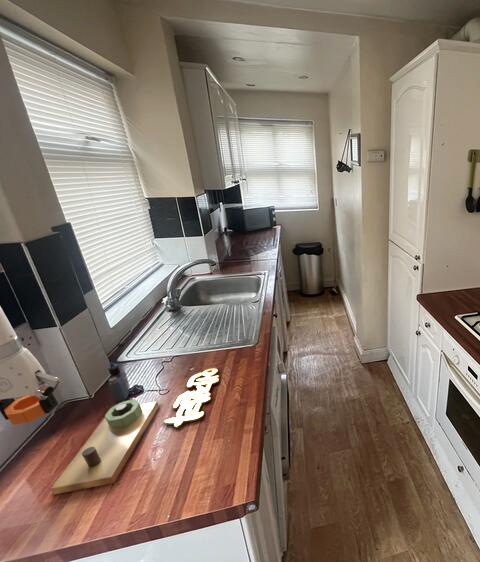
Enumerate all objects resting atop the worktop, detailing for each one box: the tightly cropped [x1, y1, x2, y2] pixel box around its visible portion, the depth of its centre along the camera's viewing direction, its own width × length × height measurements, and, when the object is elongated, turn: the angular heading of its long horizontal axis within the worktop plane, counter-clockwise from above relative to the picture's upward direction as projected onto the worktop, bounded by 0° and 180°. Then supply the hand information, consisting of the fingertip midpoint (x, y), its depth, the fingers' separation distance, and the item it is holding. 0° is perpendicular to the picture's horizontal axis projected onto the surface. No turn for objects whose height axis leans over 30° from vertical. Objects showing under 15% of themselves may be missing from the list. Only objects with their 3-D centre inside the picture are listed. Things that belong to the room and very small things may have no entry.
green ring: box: [104, 399, 142, 429], centre depth 86 cm, size 7×7×3 cm
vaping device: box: [107, 362, 130, 404], centre depth 94 cm, size 3×5×12 cm, turn 21°
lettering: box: [164, 367, 220, 429], centre depth 96 cm, size 25×10×1 cm, turn 10°
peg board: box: [50, 401, 160, 496], centre depth 79 cm, size 12×24×6 cm, turn 12°
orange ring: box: [4, 390, 47, 426], centre depth 73 cm, size 7×7×3 cm
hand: (32, 411), depth 74 cm, fingers closed on orange ring, 7 cm apart
